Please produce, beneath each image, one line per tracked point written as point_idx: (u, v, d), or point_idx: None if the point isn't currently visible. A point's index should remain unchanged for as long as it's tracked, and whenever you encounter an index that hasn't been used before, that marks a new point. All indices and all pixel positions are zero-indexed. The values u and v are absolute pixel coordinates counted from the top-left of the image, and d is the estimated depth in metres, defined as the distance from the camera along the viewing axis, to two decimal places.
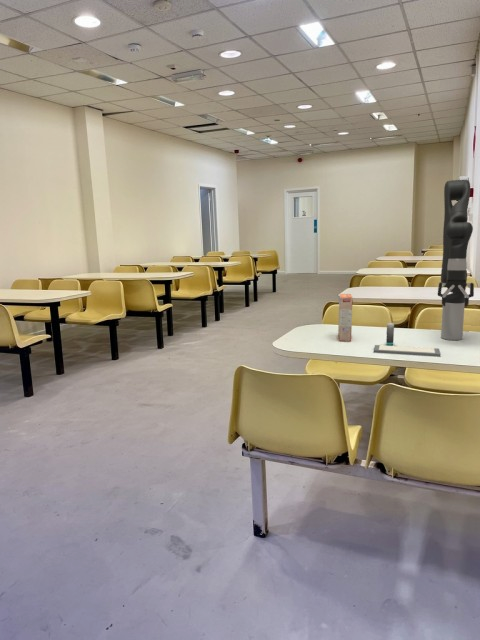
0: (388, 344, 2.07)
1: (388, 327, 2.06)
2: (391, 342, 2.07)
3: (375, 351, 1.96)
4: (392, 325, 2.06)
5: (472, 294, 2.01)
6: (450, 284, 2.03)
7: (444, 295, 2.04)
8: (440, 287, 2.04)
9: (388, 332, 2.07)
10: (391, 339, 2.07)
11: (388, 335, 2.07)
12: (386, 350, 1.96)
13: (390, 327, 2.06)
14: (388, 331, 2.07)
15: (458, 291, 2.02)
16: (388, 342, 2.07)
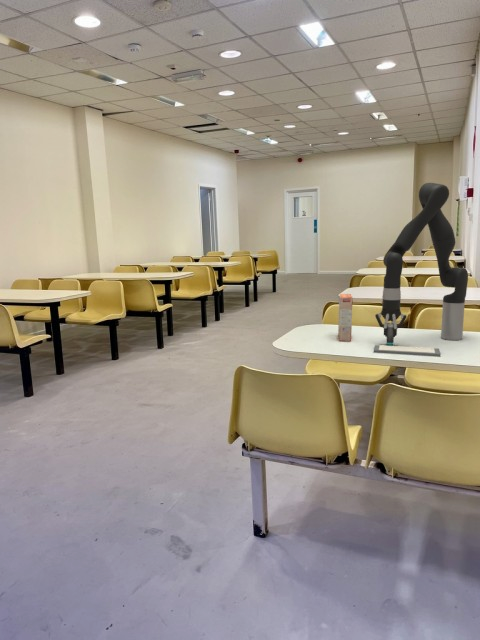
0: (388, 344, 2.07)
1: (388, 327, 2.06)
2: (391, 342, 2.07)
3: (375, 351, 1.96)
4: (392, 325, 2.06)
5: (400, 325, 2.05)
6: (385, 312, 2.06)
7: (385, 326, 2.07)
8: (378, 318, 2.07)
9: (388, 332, 2.07)
10: (391, 339, 2.07)
11: (388, 335, 2.07)
12: (386, 350, 1.96)
13: (390, 327, 2.06)
14: (388, 331, 2.07)
15: (390, 319, 2.06)
16: (388, 342, 2.07)
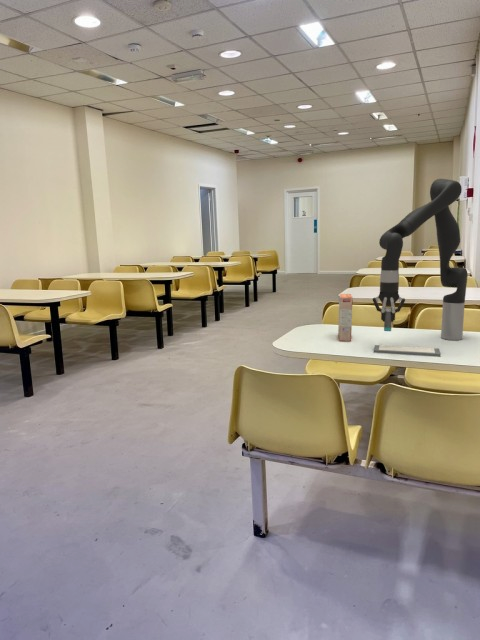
0: (386, 329, 1.99)
1: (386, 311, 1.98)
2: (389, 327, 1.98)
3: (375, 351, 1.96)
4: (390, 309, 1.97)
5: (398, 309, 1.96)
6: (382, 295, 1.97)
7: (382, 310, 1.98)
8: (375, 302, 1.98)
9: (386, 316, 1.98)
10: (389, 324, 1.98)
11: (386, 320, 1.98)
12: (386, 350, 1.96)
13: (388, 311, 1.97)
14: (386, 315, 1.98)
15: (388, 303, 1.97)
16: (386, 327, 1.99)
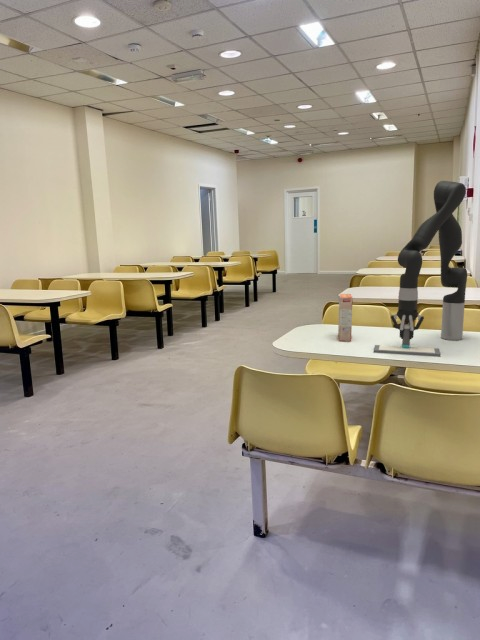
0: (404, 346, 1.98)
1: (404, 328, 1.97)
2: (407, 344, 1.97)
3: (375, 351, 1.96)
4: (409, 326, 1.96)
5: (417, 327, 1.95)
6: (401, 313, 1.96)
7: (401, 327, 1.97)
8: (393, 320, 1.98)
9: (404, 334, 1.97)
10: (407, 341, 1.97)
11: (404, 337, 1.97)
12: (386, 350, 1.96)
13: (407, 328, 1.96)
14: (404, 333, 1.97)
15: (407, 320, 1.96)
16: (404, 344, 1.98)
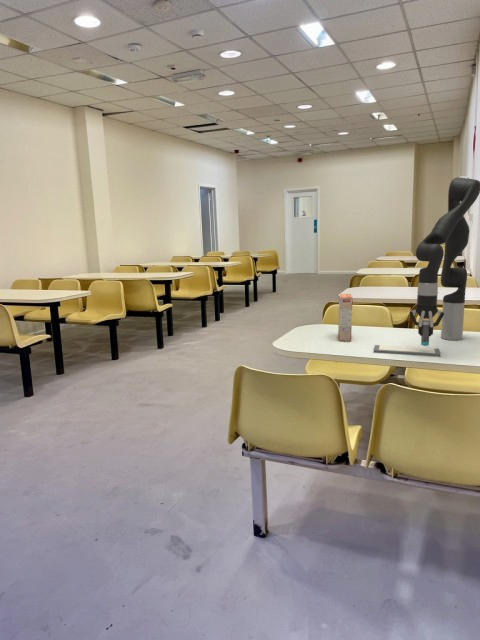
0: (423, 343, 1.91)
1: (424, 325, 1.90)
2: (427, 341, 1.90)
3: (375, 351, 1.96)
4: (428, 323, 1.89)
5: (437, 323, 1.88)
6: (420, 309, 1.89)
7: (420, 324, 1.90)
8: (412, 316, 1.91)
9: (424, 330, 1.90)
10: (427, 338, 1.90)
11: (423, 333, 1.90)
12: (386, 350, 1.96)
13: (426, 325, 1.89)
14: (424, 329, 1.90)
15: (426, 316, 1.89)
16: (423, 341, 1.91)
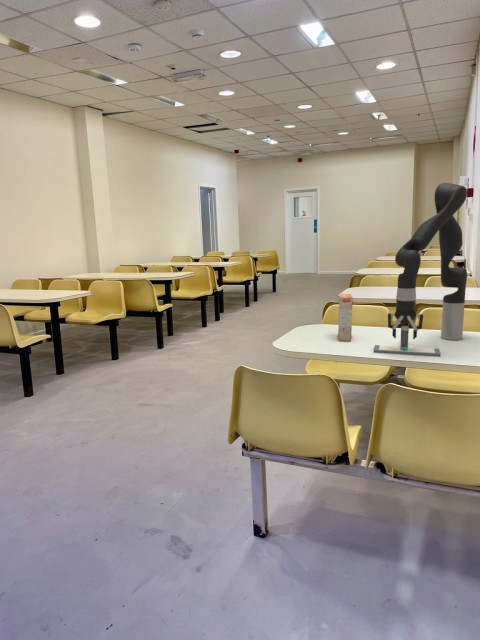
0: (402, 348, 1.94)
1: (402, 330, 1.93)
2: (406, 346, 1.94)
3: (375, 351, 1.96)
4: (407, 328, 1.92)
5: (420, 326, 1.90)
6: (399, 314, 1.92)
7: (394, 327, 1.94)
8: (389, 318, 1.94)
9: (402, 336, 1.93)
10: (406, 343, 1.93)
11: (402, 339, 1.93)
12: (386, 350, 1.96)
13: (405, 330, 1.92)
14: (402, 334, 1.93)
15: (407, 322, 1.92)
16: (402, 346, 1.94)
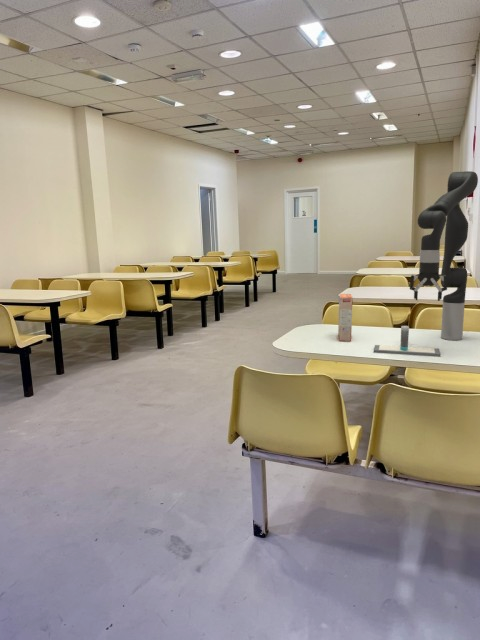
0: (402, 348, 1.94)
1: (403, 330, 1.93)
2: (406, 346, 1.94)
3: (375, 351, 1.96)
4: (407, 328, 1.92)
5: (445, 288, 1.89)
6: (422, 277, 1.92)
7: (416, 289, 1.93)
8: (412, 280, 1.93)
9: (402, 336, 1.93)
10: (406, 343, 1.93)
11: (402, 339, 1.93)
12: (386, 350, 1.96)
13: (405, 330, 1.92)
14: (402, 335, 1.93)
15: (431, 284, 1.91)
16: (402, 346, 1.94)
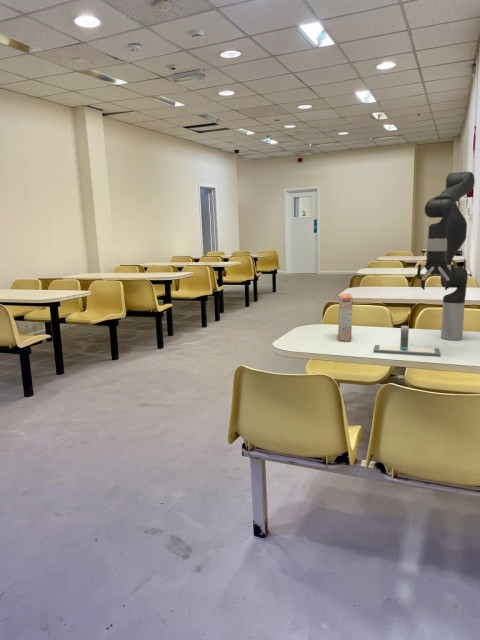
0: (402, 348, 1.94)
1: (402, 330, 1.93)
2: (406, 346, 1.94)
3: (375, 351, 1.96)
4: (407, 328, 1.92)
5: (453, 276, 1.89)
6: (430, 266, 1.91)
7: (423, 278, 1.92)
8: (419, 269, 1.92)
9: (402, 335, 1.93)
10: (406, 343, 1.93)
11: (402, 339, 1.93)
12: (386, 350, 1.96)
13: (404, 330, 1.92)
14: (402, 334, 1.93)
15: (438, 273, 1.90)
16: (402, 346, 1.94)
